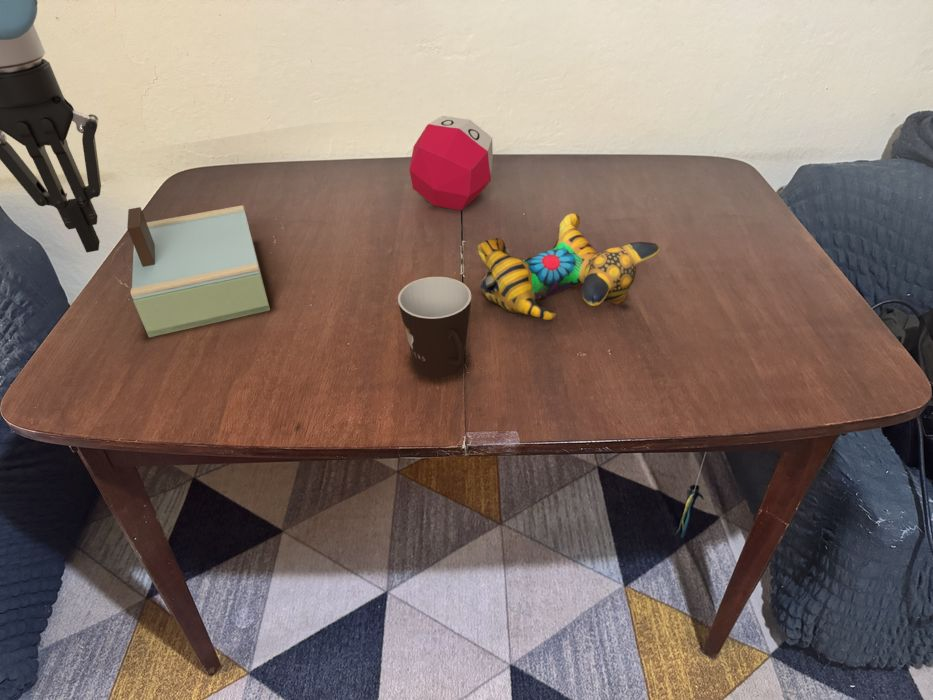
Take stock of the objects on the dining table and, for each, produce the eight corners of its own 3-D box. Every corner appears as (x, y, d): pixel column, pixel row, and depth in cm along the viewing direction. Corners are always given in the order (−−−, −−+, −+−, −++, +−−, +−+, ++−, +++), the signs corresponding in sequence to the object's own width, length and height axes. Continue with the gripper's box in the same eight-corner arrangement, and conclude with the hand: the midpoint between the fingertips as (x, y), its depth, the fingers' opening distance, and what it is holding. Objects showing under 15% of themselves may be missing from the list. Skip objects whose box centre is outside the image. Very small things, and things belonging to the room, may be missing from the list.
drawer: (133, 299, 83) (114, 255, 79) (135, 230, 97) (119, 190, 93) (260, 273, 87) (248, 229, 83) (244, 210, 102) (234, 171, 98)
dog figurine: (479, 316, 95) (561, 371, 83) (459, 248, 87) (546, 297, 75) (576, 250, 102) (665, 291, 89) (565, 181, 94) (662, 216, 81)
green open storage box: (148, 337, 87) (133, 301, 83) (149, 264, 101) (136, 230, 98) (270, 310, 91) (260, 274, 87) (253, 243, 106) (244, 210, 102)
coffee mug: (408, 340, 85) (402, 276, 78) (473, 340, 84) (472, 276, 78) (398, 401, 76) (389, 334, 69) (470, 402, 75) (469, 335, 69)
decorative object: (398, 136, 102) (437, 87, 110) (391, 202, 115) (426, 154, 123) (483, 174, 101) (516, 122, 109) (466, 237, 114) (496, 185, 122)
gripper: (76, 48, 76) (144, 225, 91) (-49, 62, 73) (43, 243, 88) (71, 64, 71) (144, 249, 86) (-65, 80, 68) (36, 270, 82)
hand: (93, 246), depth 87 cm, fingers closed
